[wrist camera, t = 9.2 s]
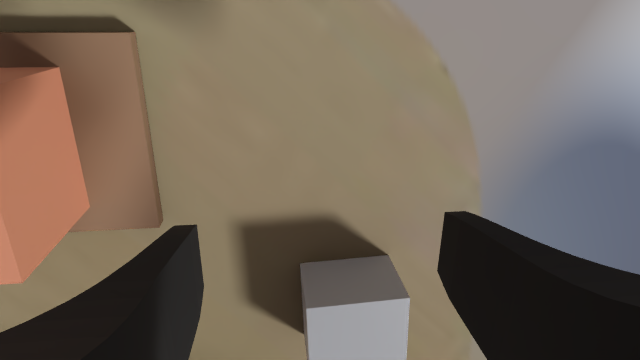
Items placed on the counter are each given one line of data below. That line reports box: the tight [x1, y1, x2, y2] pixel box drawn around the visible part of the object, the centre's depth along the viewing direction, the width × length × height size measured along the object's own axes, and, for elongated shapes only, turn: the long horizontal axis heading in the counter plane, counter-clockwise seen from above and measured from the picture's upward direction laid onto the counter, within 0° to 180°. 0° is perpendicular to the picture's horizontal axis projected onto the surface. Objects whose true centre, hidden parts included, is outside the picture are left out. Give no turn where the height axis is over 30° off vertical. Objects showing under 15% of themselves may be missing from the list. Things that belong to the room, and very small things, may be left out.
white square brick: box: [300, 255, 410, 360], centre depth 23 cm, size 5×5×4 cm
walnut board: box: [0, 32, 163, 232], centre depth 19 cm, size 10×9×1 cm
